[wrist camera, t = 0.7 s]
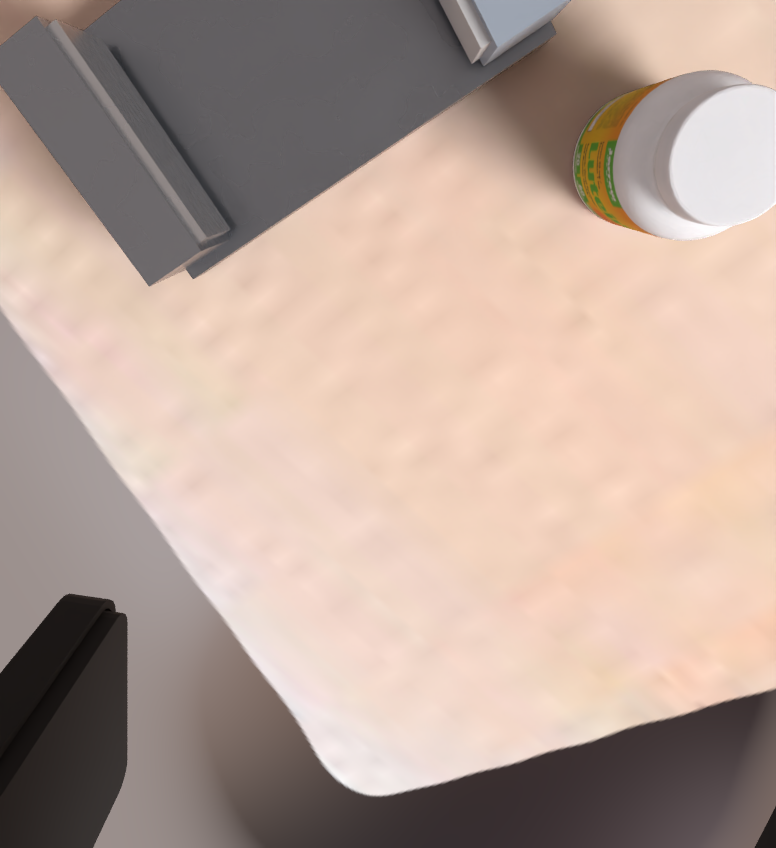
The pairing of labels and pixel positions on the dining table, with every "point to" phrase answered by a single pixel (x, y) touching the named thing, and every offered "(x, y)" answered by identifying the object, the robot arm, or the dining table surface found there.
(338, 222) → the dining table surface
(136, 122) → the vise bed
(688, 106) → the supplement bottle
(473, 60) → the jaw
